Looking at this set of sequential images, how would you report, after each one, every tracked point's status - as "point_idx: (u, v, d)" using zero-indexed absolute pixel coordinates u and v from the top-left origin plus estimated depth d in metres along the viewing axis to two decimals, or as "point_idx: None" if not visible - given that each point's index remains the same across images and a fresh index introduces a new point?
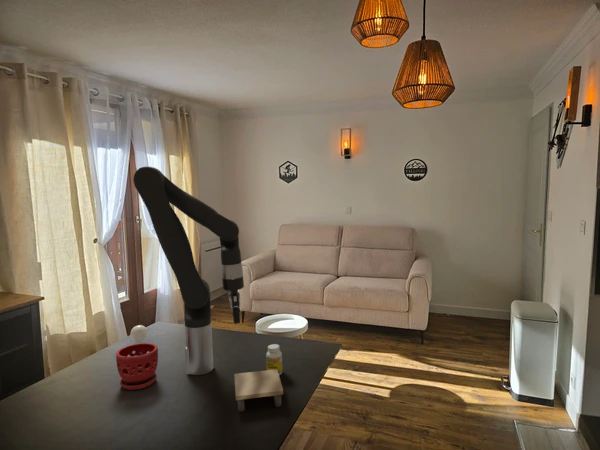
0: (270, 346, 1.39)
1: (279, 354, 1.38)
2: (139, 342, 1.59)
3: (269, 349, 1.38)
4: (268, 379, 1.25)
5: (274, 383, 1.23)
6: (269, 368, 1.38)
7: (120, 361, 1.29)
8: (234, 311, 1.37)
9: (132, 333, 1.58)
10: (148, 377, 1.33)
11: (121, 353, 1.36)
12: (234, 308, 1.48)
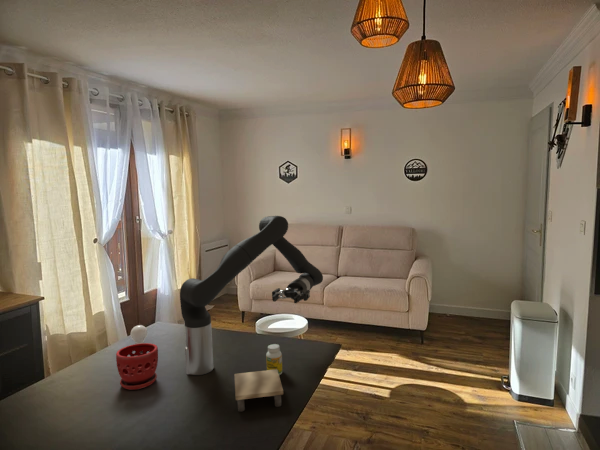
0: (270, 346, 1.39)
1: (279, 354, 1.38)
2: (139, 342, 1.59)
3: (269, 349, 1.38)
4: (268, 379, 1.25)
5: (274, 383, 1.23)
6: (269, 368, 1.38)
7: (120, 361, 1.29)
8: (306, 295, 1.51)
9: (132, 333, 1.58)
10: (148, 377, 1.33)
11: (121, 353, 1.36)
12: (277, 296, 1.52)
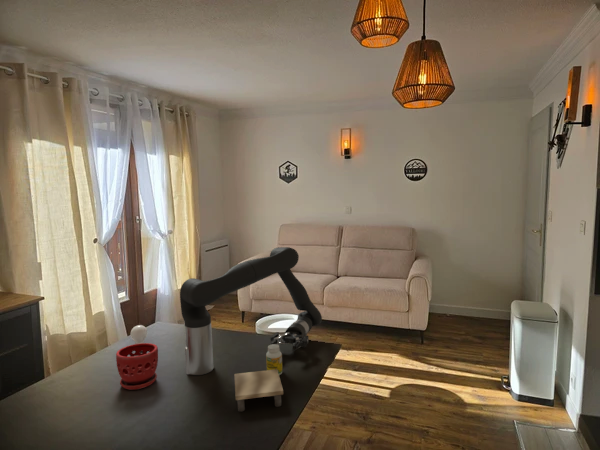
0: (270, 346, 1.39)
1: (279, 354, 1.38)
2: (139, 342, 1.59)
3: (269, 349, 1.38)
4: (268, 379, 1.25)
5: (274, 383, 1.23)
6: (269, 368, 1.38)
7: (120, 361, 1.29)
8: (305, 342, 1.50)
9: (132, 333, 1.58)
10: (148, 377, 1.33)
11: (121, 353, 1.36)
12: (276, 342, 1.52)
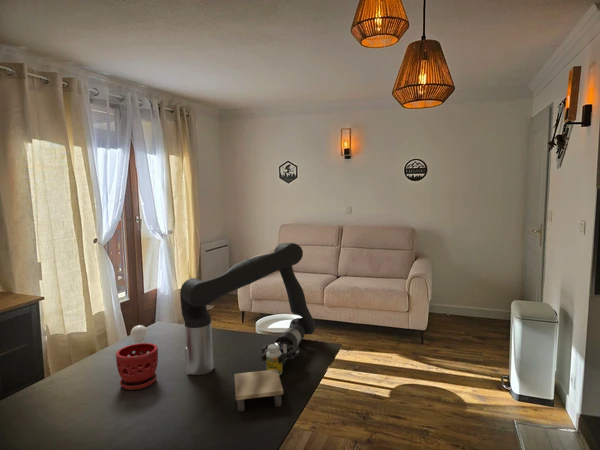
0: (270, 346, 1.39)
1: (279, 354, 1.38)
2: (139, 342, 1.59)
3: (269, 349, 1.38)
4: (268, 379, 1.25)
5: (274, 383, 1.23)
6: (269, 368, 1.38)
7: (120, 361, 1.29)
8: (292, 353, 1.40)
9: (132, 333, 1.58)
10: (148, 377, 1.33)
11: (121, 353, 1.36)
12: None
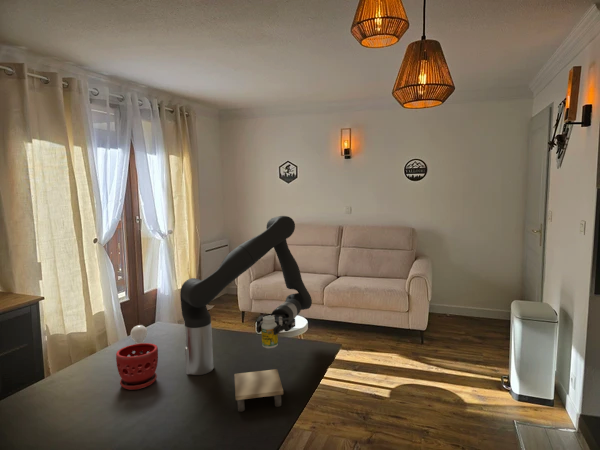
0: (265, 317, 1.35)
1: (274, 325, 1.33)
2: (139, 342, 1.59)
3: (264, 320, 1.33)
4: (268, 379, 1.25)
5: (274, 383, 1.23)
6: (264, 340, 1.33)
7: (120, 361, 1.29)
8: (287, 325, 1.35)
9: (132, 333, 1.58)
10: (148, 377, 1.33)
11: (121, 353, 1.36)
12: None
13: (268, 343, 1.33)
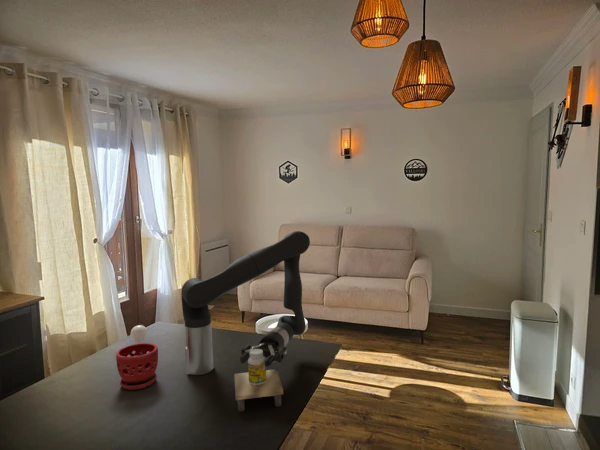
0: (252, 351, 1.23)
1: (262, 360, 1.22)
2: (139, 342, 1.59)
3: (251, 354, 1.22)
4: (268, 379, 1.25)
5: (274, 383, 1.23)
6: (251, 376, 1.22)
7: (120, 361, 1.29)
8: (280, 355, 1.24)
9: (132, 333, 1.58)
10: (148, 377, 1.33)
11: (121, 353, 1.36)
12: (247, 356, 1.25)
13: (256, 380, 1.21)
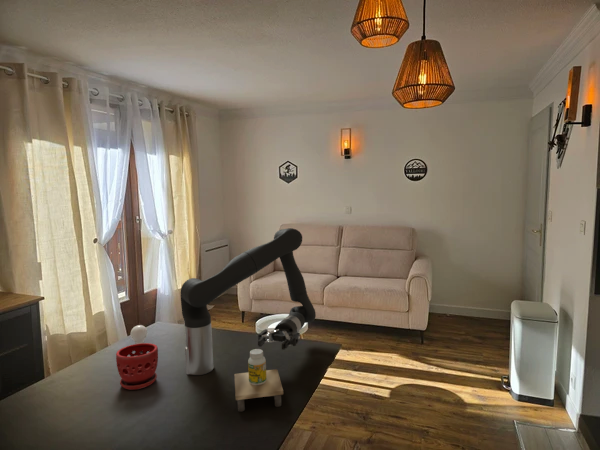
0: (252, 351, 1.23)
1: (262, 360, 1.22)
2: (139, 342, 1.59)
3: (251, 355, 1.22)
4: (268, 379, 1.25)
5: (274, 383, 1.23)
6: (251, 376, 1.22)
7: (120, 361, 1.29)
8: (295, 340, 1.36)
9: (132, 333, 1.58)
10: (148, 377, 1.33)
11: (121, 353, 1.36)
12: (263, 340, 1.37)
13: (256, 380, 1.21)
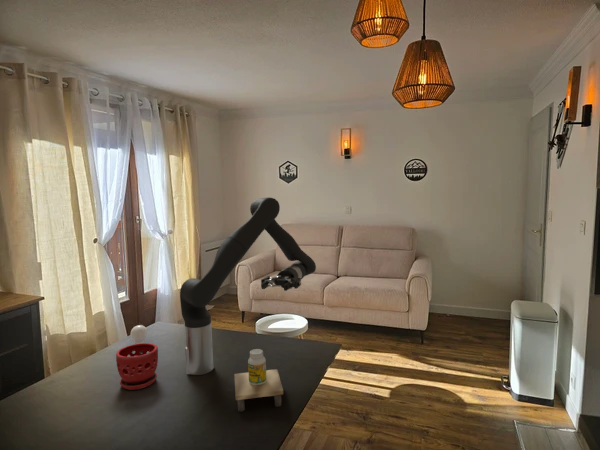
0: (252, 351, 1.23)
1: (262, 360, 1.22)
2: (139, 342, 1.59)
3: (251, 355, 1.22)
4: (268, 379, 1.25)
5: (274, 383, 1.23)
6: (251, 376, 1.22)
7: (120, 361, 1.29)
8: (297, 283, 1.43)
9: (132, 333, 1.58)
10: (148, 377, 1.33)
11: (121, 353, 1.36)
12: (266, 284, 1.45)
13: (256, 380, 1.21)
